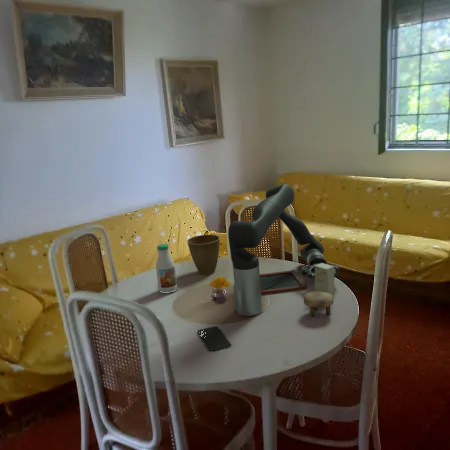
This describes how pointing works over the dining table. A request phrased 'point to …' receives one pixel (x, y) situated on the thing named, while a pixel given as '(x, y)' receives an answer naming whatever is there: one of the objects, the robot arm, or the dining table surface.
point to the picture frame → (281, 282)
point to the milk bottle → (165, 270)
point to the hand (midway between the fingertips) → (322, 276)
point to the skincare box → (324, 278)
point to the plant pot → (204, 252)
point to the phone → (214, 338)
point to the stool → (318, 301)
